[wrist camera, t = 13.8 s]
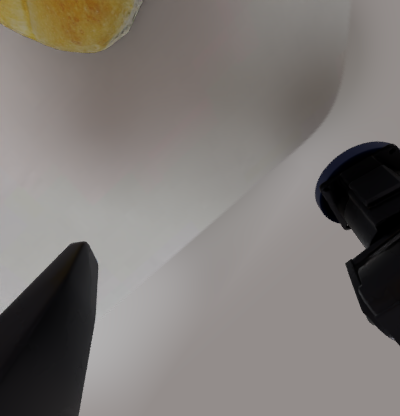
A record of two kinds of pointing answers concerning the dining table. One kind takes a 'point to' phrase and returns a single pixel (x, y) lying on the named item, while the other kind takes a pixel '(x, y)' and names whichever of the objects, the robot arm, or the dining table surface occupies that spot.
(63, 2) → the bread roll
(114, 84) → the dining table surface
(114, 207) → the dining table surface
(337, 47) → the dining table surface
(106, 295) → the dining table surface
